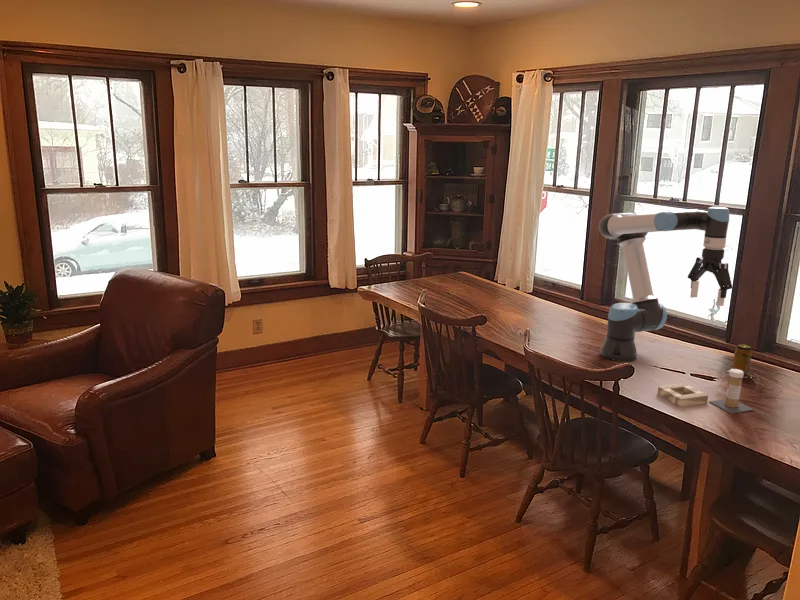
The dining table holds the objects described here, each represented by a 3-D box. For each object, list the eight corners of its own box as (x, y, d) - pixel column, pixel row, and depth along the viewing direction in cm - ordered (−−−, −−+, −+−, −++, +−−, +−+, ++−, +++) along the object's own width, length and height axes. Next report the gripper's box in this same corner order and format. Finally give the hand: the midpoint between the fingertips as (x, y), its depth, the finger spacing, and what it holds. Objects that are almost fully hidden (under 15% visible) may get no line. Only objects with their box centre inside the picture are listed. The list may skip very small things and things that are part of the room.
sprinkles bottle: (727, 401, 226) (732, 367, 223) (740, 405, 223) (745, 370, 220) (722, 405, 223) (727, 370, 220) (735, 409, 220) (741, 374, 217)
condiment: (741, 370, 259) (745, 342, 256) (756, 377, 251) (761, 349, 248) (726, 371, 257) (730, 343, 254) (740, 378, 249) (745, 350, 246)
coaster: (709, 402, 227) (709, 401, 227) (731, 399, 230) (731, 398, 229) (730, 413, 217) (731, 412, 217) (753, 410, 220) (753, 409, 220)
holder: (657, 393, 234) (658, 386, 233) (683, 390, 237) (684, 383, 237) (680, 406, 223) (681, 399, 222) (707, 402, 226) (708, 395, 226)
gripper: (682, 243, 248) (676, 294, 253) (731, 254, 225) (723, 310, 230) (697, 242, 250) (690, 293, 255) (748, 253, 227) (739, 308, 232)
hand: (706, 301), depth 243 cm, fingers open, 13 cm apart
